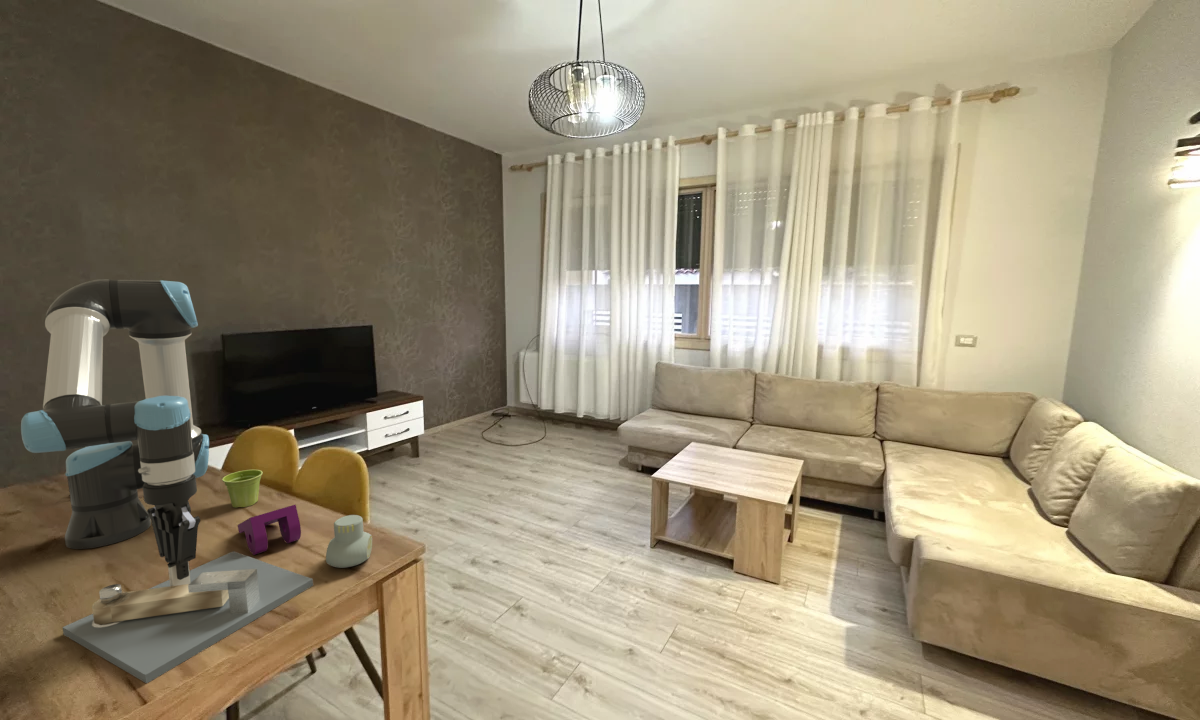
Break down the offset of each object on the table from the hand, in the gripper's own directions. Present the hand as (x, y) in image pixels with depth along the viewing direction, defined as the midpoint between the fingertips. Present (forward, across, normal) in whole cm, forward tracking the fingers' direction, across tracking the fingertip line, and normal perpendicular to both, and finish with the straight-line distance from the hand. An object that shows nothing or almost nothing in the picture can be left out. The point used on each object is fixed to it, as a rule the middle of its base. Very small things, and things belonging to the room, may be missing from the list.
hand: (181, 591), depth 93 cm
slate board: (+3, +4, +1) cm, 5 cm away
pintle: (+1, -4, -8) cm, 10 cm away
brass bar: (+1, +2, -4) cm, 4 cm away
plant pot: (+4, -37, +34) cm, 50 cm away
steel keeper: (+1, +12, +2) cm, 12 cm away
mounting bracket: (+4, -11, +23) cm, 26 cm away
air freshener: (+3, +17, +25) cm, 30 cm away
